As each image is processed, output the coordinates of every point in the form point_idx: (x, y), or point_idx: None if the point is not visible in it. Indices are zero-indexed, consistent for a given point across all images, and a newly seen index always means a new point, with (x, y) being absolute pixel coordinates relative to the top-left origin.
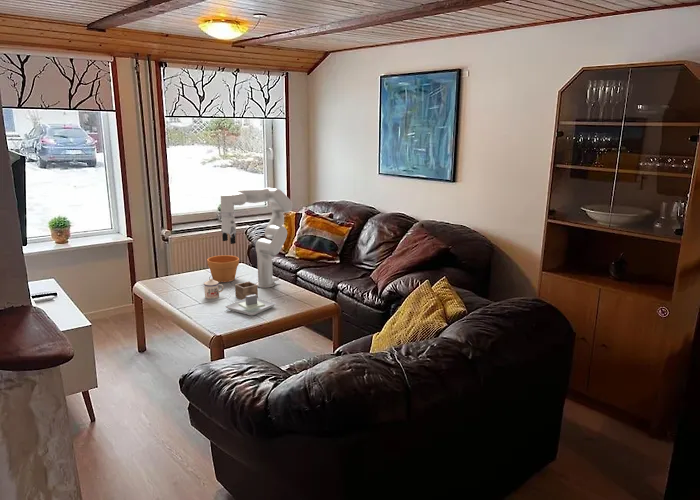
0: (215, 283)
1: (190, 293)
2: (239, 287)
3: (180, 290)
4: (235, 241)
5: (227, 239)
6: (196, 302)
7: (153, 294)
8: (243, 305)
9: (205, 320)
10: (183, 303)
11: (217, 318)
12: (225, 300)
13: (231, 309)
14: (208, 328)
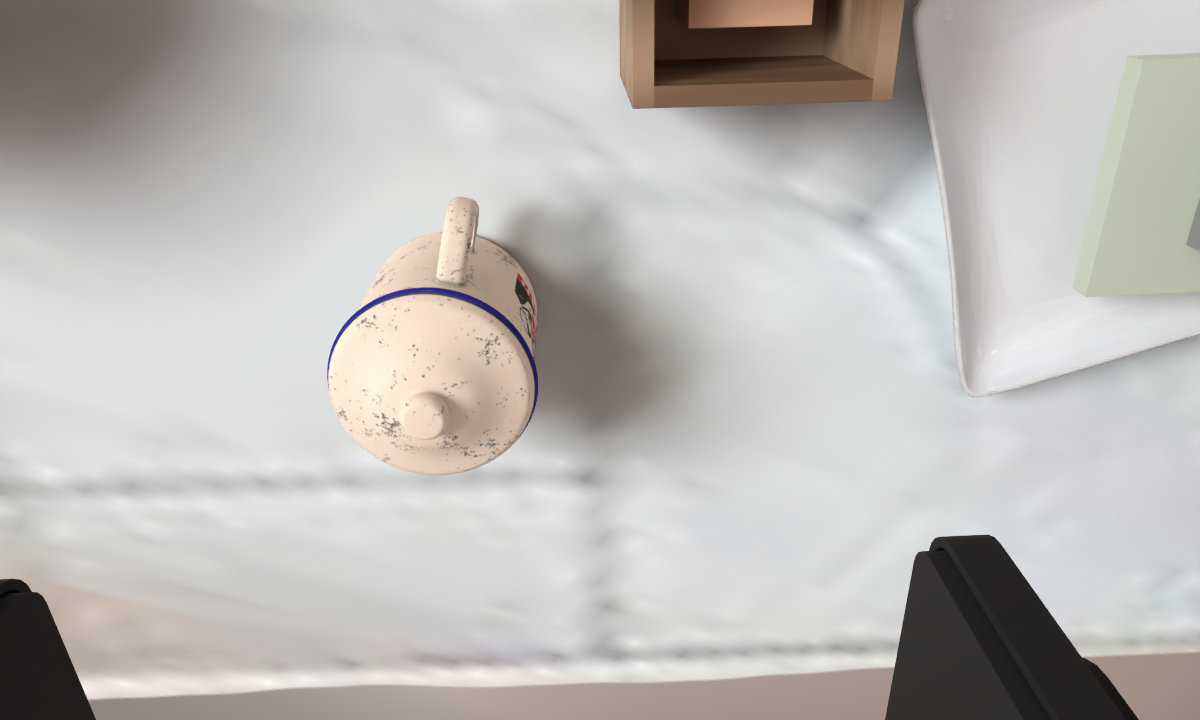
0: (513, 371)
1: (209, 440)
2: (771, 101)
3: (47, 482)
4: (1037, 598)
5: (4, 633)
6: (539, 493)
7: (84, 689)
8: (1189, 283)
9: None
10: (495, 584)
11: (1064, 507)
12: (670, 242)
13: (1043, 358)
14: (1181, 627)
